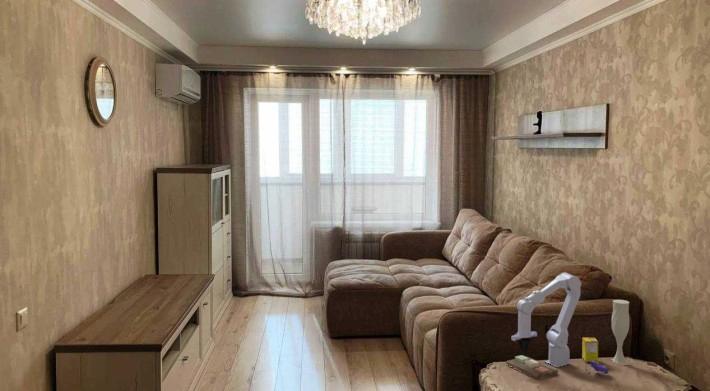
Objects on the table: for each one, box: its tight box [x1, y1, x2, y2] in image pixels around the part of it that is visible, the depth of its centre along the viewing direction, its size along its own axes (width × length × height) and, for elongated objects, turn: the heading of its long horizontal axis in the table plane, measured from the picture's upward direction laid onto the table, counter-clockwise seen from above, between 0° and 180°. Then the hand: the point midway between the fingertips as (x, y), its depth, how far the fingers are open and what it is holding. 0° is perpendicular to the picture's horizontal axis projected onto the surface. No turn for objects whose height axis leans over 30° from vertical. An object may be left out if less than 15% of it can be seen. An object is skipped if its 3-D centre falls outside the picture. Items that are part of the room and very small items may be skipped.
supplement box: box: [581, 336, 599, 363], centre depth 277 cm, size 6×6×11 cm
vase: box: [611, 299, 630, 363], centre depth 274 cm, size 9×8×30 cm
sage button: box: [514, 354, 530, 364], centre depth 272 cm, size 4×4×2 cm
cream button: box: [525, 359, 540, 368], centre depth 267 cm, size 4×4×2 cm
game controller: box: [584, 357, 609, 377], centre depth 261 cm, size 10×8×10 cm
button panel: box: [505, 356, 559, 381], centre depth 267 cm, size 13×20×2 cm, turn 27°
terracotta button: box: [535, 367, 549, 373], centre depth 261 cm, size 4×4×2 cm
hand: (524, 353), depth 271 cm, fingers closed
